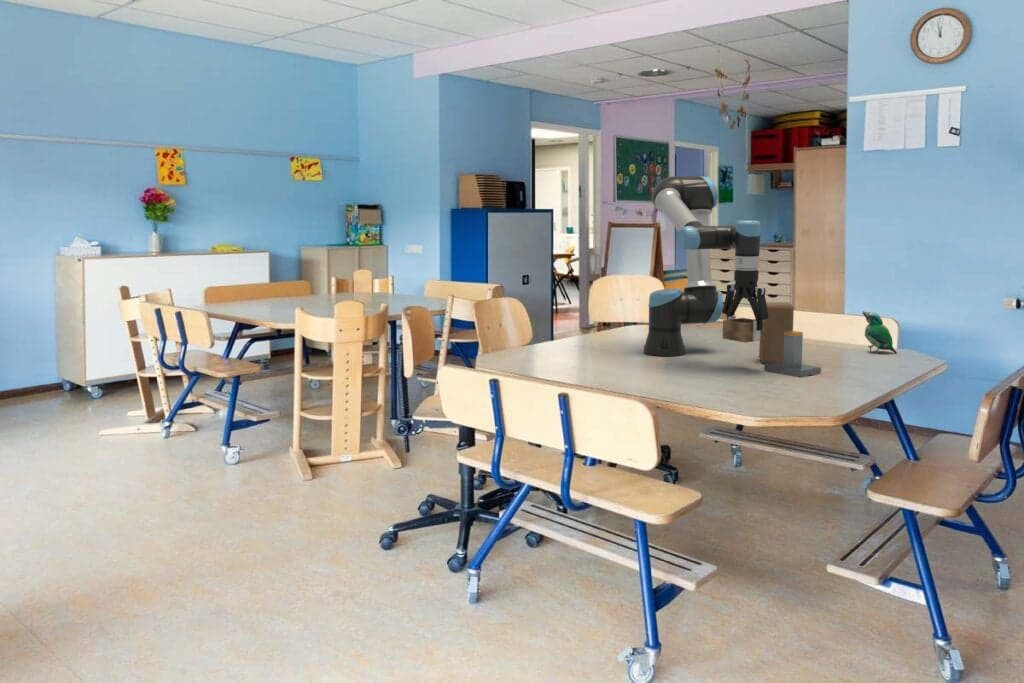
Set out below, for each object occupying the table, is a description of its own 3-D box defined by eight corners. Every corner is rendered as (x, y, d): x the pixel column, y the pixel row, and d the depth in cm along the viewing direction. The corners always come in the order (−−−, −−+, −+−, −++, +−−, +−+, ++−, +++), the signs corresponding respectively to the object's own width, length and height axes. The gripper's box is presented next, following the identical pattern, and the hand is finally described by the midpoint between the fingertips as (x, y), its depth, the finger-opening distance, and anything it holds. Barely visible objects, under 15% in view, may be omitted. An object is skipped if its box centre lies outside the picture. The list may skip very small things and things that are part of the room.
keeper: (764, 370, 274) (765, 330, 273) (783, 367, 280) (785, 328, 278) (800, 377, 263) (802, 335, 261) (820, 373, 269) (822, 332, 267)
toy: (861, 354, 304) (863, 312, 302) (859, 350, 312) (861, 309, 309) (898, 355, 300) (901, 313, 298) (895, 351, 308) (897, 310, 306)
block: (792, 364, 286) (794, 305, 283) (761, 363, 288) (763, 304, 285) (788, 359, 295) (790, 302, 292) (758, 358, 297) (760, 301, 294)
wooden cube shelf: (722, 338, 277) (723, 320, 275) (741, 335, 282) (742, 317, 281) (745, 342, 269) (746, 323, 268) (765, 339, 274) (766, 321, 273)
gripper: (712, 267, 278) (709, 334, 282) (767, 272, 260) (763, 344, 264) (727, 266, 282) (725, 332, 286) (782, 271, 264) (779, 341, 268)
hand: (743, 338), depth 275 cm, fingers closed on wooden cube shelf, 9 cm apart
